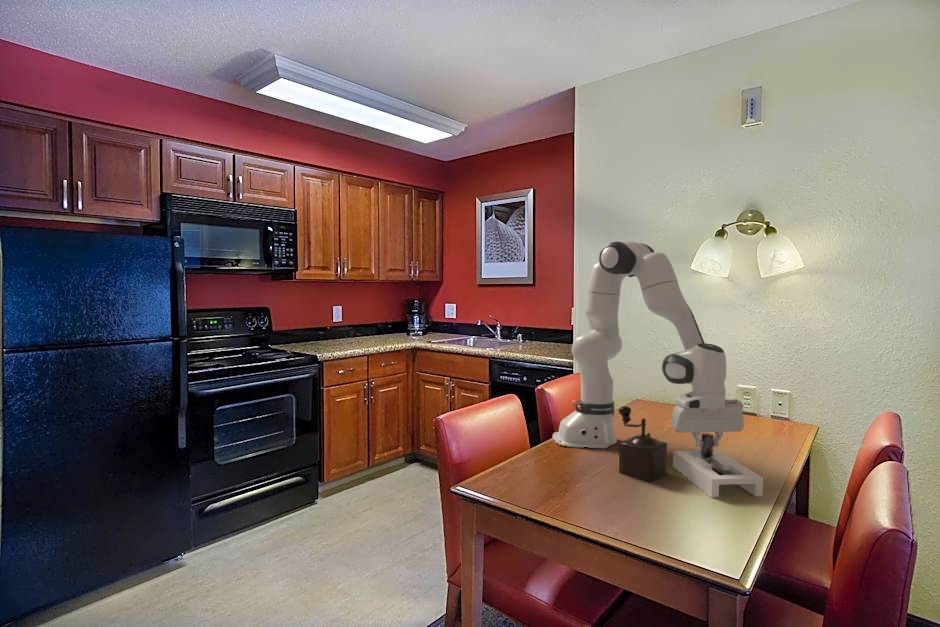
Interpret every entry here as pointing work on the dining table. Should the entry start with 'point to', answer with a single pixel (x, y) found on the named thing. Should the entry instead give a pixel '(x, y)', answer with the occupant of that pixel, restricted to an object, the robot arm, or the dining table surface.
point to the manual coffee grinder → (641, 453)
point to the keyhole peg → (707, 447)
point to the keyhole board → (710, 480)
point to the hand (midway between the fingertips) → (706, 446)
